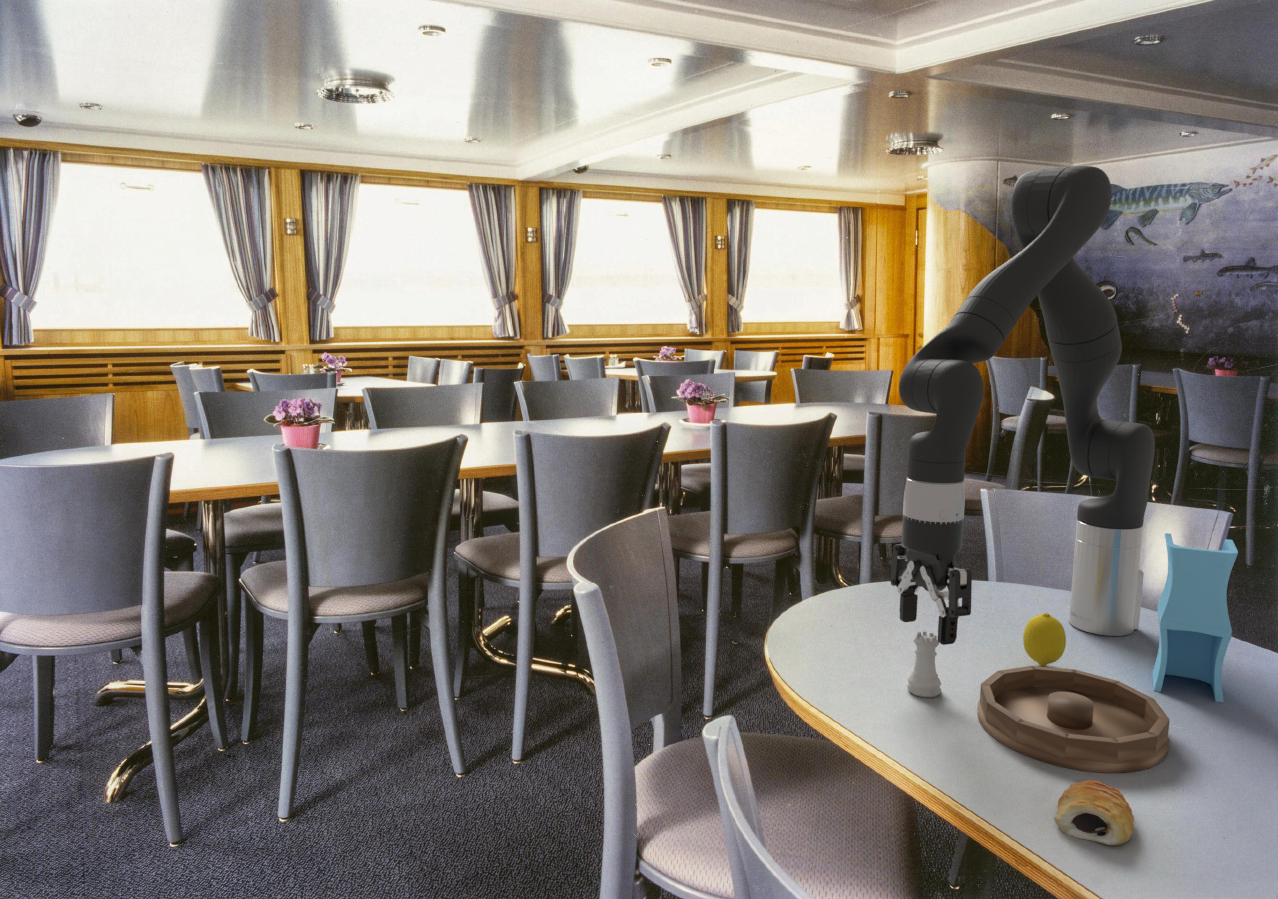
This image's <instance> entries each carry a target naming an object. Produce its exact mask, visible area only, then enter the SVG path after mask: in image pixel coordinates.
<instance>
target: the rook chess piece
mask: <svg viewBox="0 0 1278 899" xmlns="http://www.w3.org/2000/svg"><path fill="white" fill-rule="evenodd" d="M913 642H914V644H915V646H916V649H915V650H914V653H915V660H914V667H913V670H912V671H911V674H909V676H908V677H907V682H908V684H906V687H907V689H908V691H909V692H910V693H911V694H912V695H914V696H916V697H920V698H924V699H925V698H927V699H930V698H936V697H938V695H940V694H941V692H942V688H941V685H942V682H941V681H942V680H941V679H940V678H939V675H938V673H937V669H936V668H937V667H936V656H937V655H938V653H937V652H936V648H937V647H938V646H939V644H940V643H939V642H938V635H936V634H934V633H933V632H929V635H928V631H922V632H921V631H919V632H917V633H916V637H915V638H913Z"/></svg>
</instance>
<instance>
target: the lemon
mask: <svg viewBox="0 0 1278 899" xmlns="http://www.w3.org/2000/svg"><path fill="white" fill-rule="evenodd" d="M1023 630H1024V631H1023V635H1022V640H1023V642H1022V643H1023V644H1022V645H1023V649H1024V651H1025V653H1026V655H1027V656H1028V657H1029V658H1030V659H1031V660H1033V661H1034V662H1036V663H1038V666H1039V667H1047V665H1049V664H1053V663H1055V662H1057V661H1058V660H1060V659H1061V658H1062V657H1063V655H1064V653H1065V650H1066V644H1067V637H1066V631H1065V628H1064V626H1063V625H1062V623H1061V622H1060V620H1059V619H1057V618H1056V617H1054V616H1052V615H1051V614H1049V613H1048V612H1043V613H1042V614H1037V615H1035V616H1033V617H1031V618H1030V619H1029V620H1028V621H1027V623H1026V625H1025V627H1024V629H1023Z"/></svg>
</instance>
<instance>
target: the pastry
mask: <svg viewBox="0 0 1278 899" xmlns="http://www.w3.org/2000/svg"><path fill="white" fill-rule="evenodd" d="M1126 800H1127V799H1126V798H1125V797H1124V795H1123V793H1121V791H1120V790H1119V789H1118V788H1116V787H1114V786H1113V787H1112V786H1110V785H1108V784H1106V783H1103V782H1102V781H1099V780H1097V779H1096V780H1095V779H1089V780H1088V779H1087V780H1084V781H1077V782H1075V783H1072V784H1070V786H1069V787H1068V788H1067V789H1065V790H1064V791H1063V792H1062V794H1061V796H1060V798H1059V799H1058V801H1057V806H1056V807H1057V811H1056V815H1055V817H1054V819H1053V820H1054V822H1055V825H1057V826H1058V828H1059V830H1060V832H1063V833H1065V834H1067V835H1068V836H1070V837H1074V838H1077V839H1081V840H1086V841H1091V842H1095V843H1099V844H1103V845H1106V846H1107V845H1108V846H1121V845H1123V844H1125V843H1127V842H1129V840H1130V839H1131V837H1132V836H1133V834H1134V821H1135V816H1134V815H1133V810H1132V808H1131V807H1130V804H1129V803H1128V802H1127V801H1126Z"/></svg>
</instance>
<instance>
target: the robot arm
mask: <svg viewBox="0 0 1278 899" xmlns="http://www.w3.org/2000/svg"><path fill="white" fill-rule="evenodd" d="M1112 195H1113V190H1112V185H1111V181H1110V178H1109V176H1108V174H1107V173H1106V172H1105V171H1104V170H1103V169H1101V168H1099V167H1097V166H1090V165H1073V166H1061V167H1060V166H1058V167H1046V168H1038V169H1033V170H1029V171H1027V172H1025V173H1022V175H1020V176H1019V177H1018V179H1016V182H1015V184H1014V185H1013V189H1012V192H1011V198H1010V206H1011V208H1010V211H1011V217H1012V223H1013V227H1014V229H1015V233H1016V235H1017V238H1018V241H1019V244H1020V247H1021V249H1022V250H1021V251H1019V252H1018V253H1016V254H1015V255H1014V256H1013V257H1011V258H1010V259H1008V260H1007V261H1006V262H1004V263H1003V264H1001V265H1000V266H998V267H997V268H995V269H994V270H993V271H990V273H988V274H987V275H986V276H985V277H983V278H982V279H981V281H980V282H978V283H977V285H975V287H973V289H972V290H971V291H970V293H968V295H967V296H966V298H965V299H964V301H963V302H962V304H961V305H960V307H959V308H958V310H957V311H956V313H955V314H954V315H953V317H952V318H951V320H950V322H949V323H948V325H947V326H946V327H944V328H943V329H942V330H941V331H939V332H938V333H936V334H935V336H934V337H932V338H931V339H930V340H929V341H928V342H927V343H926V344H924V345H923V346H922V347H921V348H920V349H919V350H918V351H917V352H916V353H915V354H914V355H913V356H912V357H911V359H910V360H909V361H908V362H907V363H906V365H905V366H904V369H903V370H902V373H901V375H900V378H899V383H898V394H899V397H900V400H901V401H902V403H903V404H904V405H905V406H906V407H907V408H909V409H910V410H913V411H915V412H919V413H926V414H934V415H935V419H934V422H933V424H932V427H931V429H930V431H922V432H917V433H915V434H913V435H912V436H911V437H910V440H909V442H908V449H907V450H908V451H907V466H906V468H907V470H906V482H905V487H904V492H903V493H904V494H903V504H902V506H903V507H902V521H901V522H902V524H901V541H900V542H901V543H899V544H894V545H893V547H892V556H891V557H892V558H891V570H890V578H889V579H890V585H891V586H893V587H896V588H897V592H898V594H899V595H900V596H899V597H900V598H899V599H900V600H899V620H900V621H902V622H903V623H912V622H915V621H916V620H917V615H918V614H917V613H918V596H919V595H918V594H916V593H918V591H919V589H921V587H922V588H923V589H924V590H925V591H927V592H928V594H929V597H930V599H931V600H932V601H933V602H935V604H936V607H937V609H938V613H939V615H938V626H937V641H938V642H939V644H941V645H942V646H943V645H944V646H946V645H952V644H955V642H956V640H957V637H958V636H957V634H958V620H959V617H966V616H970V615H971V613H972V585H973V584H972V583H973V582H972V578H973V577H972V576H973V572H972V570H971V569H970V568H958V567H956V563H955V556H956V554H958V552H960V551H961V549H962V548H963V537H964V536H963V534H964V517H965V503H966V502H965V501H966V496H965V495H966V494H965V481H964V480H965V471H966V470H965V469H966V450H967V448H968V445H969V441H970V439H971V436H972V434H973V431H974V427H975V424H976V421H977V418H978V417H979V413H980V410H981V408H982V404H983V401H984V394H985V389H984V388H985V387H984V386H985V385H984V380H983V375H982V374H981V372H980V370H979V369H978V367H976V365H975V364H978V363H983V362H986V361H989V360H990V359H992V358H993V357H994V356H995V355H996V354H997V353H998V351H1000V348H1001V347H1002V346H1003V344H1004V343H1005V341H1006V340H1007V338H1008V337H1009V335H1010V334H1011V333H1012V331H1013V329H1014V328H1015V326H1016V324H1017V323H1018V321H1019V320H1020V319H1021V317H1022V316H1023V314H1024V313H1025V312H1026V310H1027V309H1028V308H1029V306H1030V305H1031V303H1032V302H1033V300H1035V298H1036V297H1037V298H1038V301H1039V305H1040V308H1041V311H1042V312H1041V313H1042V317H1043V322H1044V326H1045V331H1046V338H1047V340H1048V346H1049V349H1050V354H1051V357H1052V360H1053V364H1054V368H1055V370H1056V376H1057V379H1058V380H1057V381H1058V384H1059V388H1060V393H1061V398H1062V404H1063V408H1064V409H1063V410H1064V411H1063V412H1064V420H1065V426H1066V427H1065V428H1066V436H1067V442H1068V444H1067V445H1068V449H1069V450H1068V451H1069V456H1070V459H1071V462H1072V465H1073V467H1074V469H1075V470H1076V471H1077V472H1078V473H1079V474H1081V475H1083V476H1086V477H1088V478H1089V477H1090V478H1096V479H1103V480H1108V481H1114V482H1115V481H1116V483H1115V484H1116V485H1115V488H1114V491H1113V493H1111V494H1108V495H1105V496H1098V497H1092V498H1087V499H1085V500H1081V501H1080V503H1079V504H1078V506H1077V514H1076V527H1075V540H1074V541H1075V542H1074V551H1073V552H1074V553H1073V565H1072V566H1073V567H1072V580H1071V592H1070V594H1071V595H1070V603H1069V604H1070V607H1069V618H1068V621H1069V624H1070V625H1072V627H1074V628H1076V629H1078V630H1080V631H1084V632H1087V633H1092V634H1095V635H1101V636H1109V637H1111V636H1112V637H1116V636H1117V637H1121V636H1128V635H1131V634H1132V633H1133V632H1134V631H1135V630H1139V629H1140V619H1141V618H1140V616H1141V608H1142V599H1143V598H1142V596H1143V586H1144V577H1145V576H1144V571H1143V570H1141V569H1140V565H1141V563H1140V562H1141V551H1142V542H1143V541H1142V539H1143V528H1144V519H1145V514H1146V510H1147V506H1148V501H1149V491H1150V484H1151V478H1152V472H1153V465H1154V460H1155V459H1154V458H1155V450H1156V448H1155V447H1156V443H1155V442H1156V440H1155V436H1154V435H1155V434H1154V432H1153V430H1152V429H1151V427H1150V426H1148V425H1146V424H1145V423H1139V422H1130V421H1129V422H1128V421H1121V420H1109V419H1103V418H1102V417H1101V416H1100V414H1099V410H1098V397H1099V394H1100V392H1101V391H1102V389H1103V387H1104V385H1105V384H1106V383H1107V381H1108V380H1109V378H1110V377H1111V375H1112V373H1114V371H1115V369H1116V366H1117V365H1118V363H1119V361H1120V359H1121V355H1122V352H1123V344H1122V339H1121V338H1122V337H1121V333H1120V329H1119V324H1118V317H1117V312H1116V309H1115V308H1114V306H1113V304H1112V302H1111V300H1110V299H1109V298H1108V296H1107V295H1106V294H1105V292H1104V291H1103V290H1102V289H1101V288H1100V287H1099V286H1098V285H1097V283H1095V281H1094V280H1093V279H1092V278H1091V277H1090V276H1089V275H1088V274H1087V273H1086V272H1085V271H1084V270H1083V269H1082V267H1081V266H1080V265H1079V264H1078V263H1077V261H1076V259H1075V258H1074V257H1075V255H1076V254H1078V252H1079V251H1080V250H1081V249H1082V248H1083V247H1084V246H1085V244H1087V243H1088V241H1089V240H1090V239H1091V238H1092V237H1093V236H1094V235H1095V233H1097V231H1098V230H1099V228H1100V227H1101V226H1102V224H1103V223H1104V221H1105V219H1106V218H1107V216H1108V214H1109V211H1110V208H1111V204H1112V198H1113V196H1112ZM901 570H902V574H901V576H899V575H900V571H901ZM946 587H947V590H946V591H944V590H945V589H946ZM959 599H961V605H960V602H959ZM945 600H947V601H948V606H947V604H946V601H945Z"/></svg>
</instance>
